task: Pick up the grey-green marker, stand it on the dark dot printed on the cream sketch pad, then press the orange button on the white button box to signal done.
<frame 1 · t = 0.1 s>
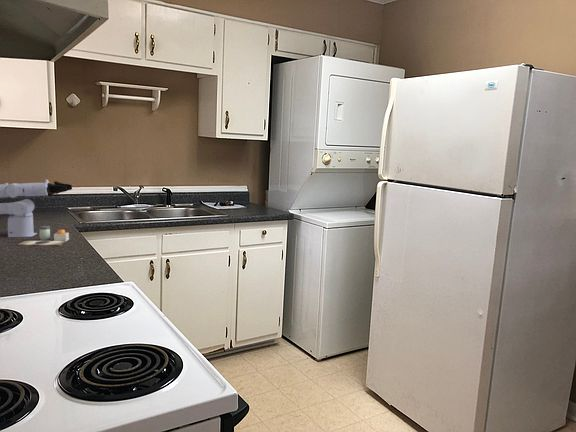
hand: (69, 187, 211), 21 cm above the countertop, fingers open, 7 cm apart
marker: (45, 240, 203), on the countertop
button box: (61, 240, 204), on the countertop
done button: (61, 233, 204), point 3 cm above the countertop, slide at 0.0 cm
sketch pad: (42, 243, 197), on the countertop
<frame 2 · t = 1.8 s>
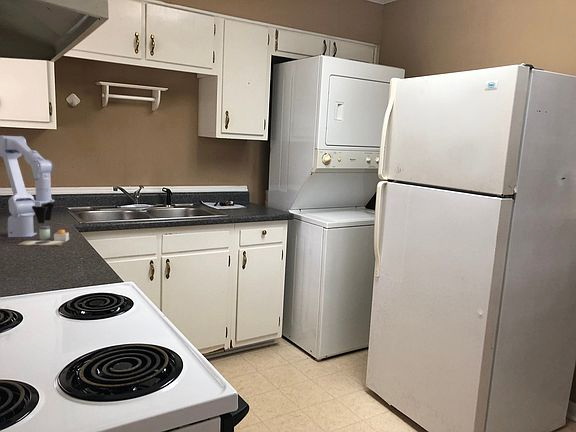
hand: (44, 221, 202), 8 cm above the countertop, fingers open, 7 cm apart
nothing on the countertop moved.
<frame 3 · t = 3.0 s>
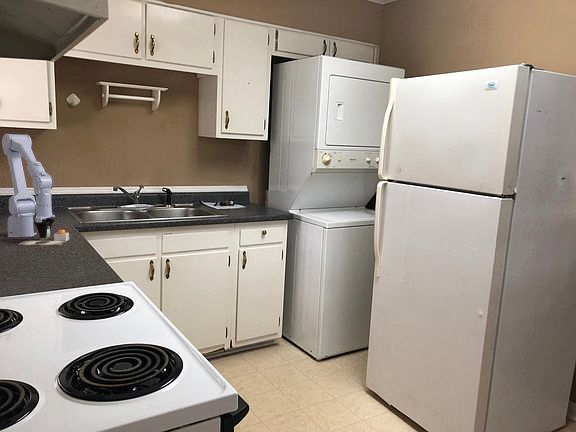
hand: (44, 236, 203), 2 cm above the countertop, fingers closed on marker, 4 cm apart
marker: (45, 240, 203), on the countertop, touching gripper
everything else where it was.
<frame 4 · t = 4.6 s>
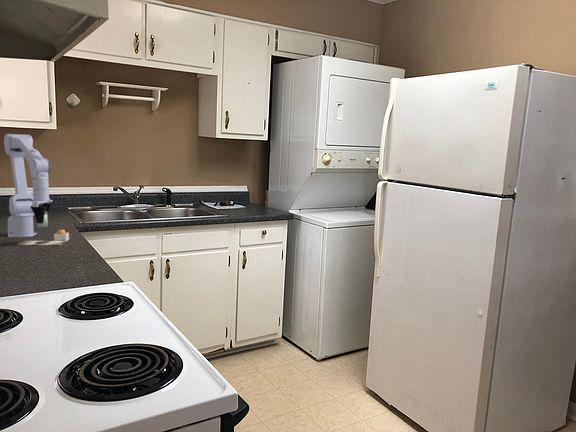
hand: (42, 222, 196), 9 cm above the countertop, fingers closed on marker, 4 cm apart
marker: (42, 226, 196), point 7 cm above the countertop, touching gripper
everything else where it was.
when the fingers open (3 cm above the countertop, at t = 6.1 s): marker drops 1 cm, resting on sketch pad.
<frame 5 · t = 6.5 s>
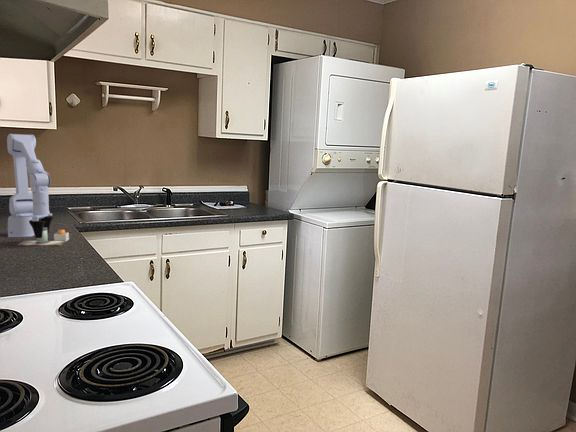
hand: (42, 236, 196), 3 cm above the countertop, fingers open, 7 cm apart
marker: (42, 242, 197), point 1 cm above the countertop, touching sketch pad
everything else where it was.
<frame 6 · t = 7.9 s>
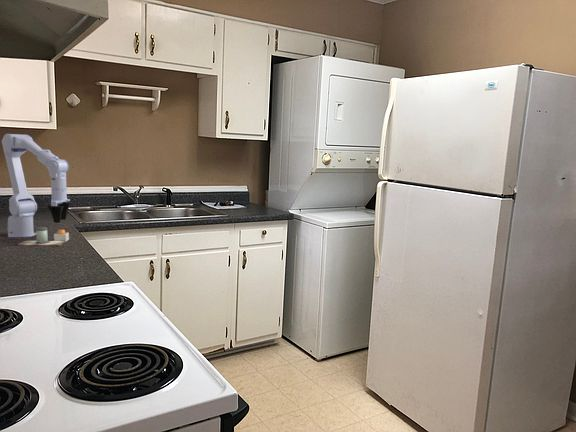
hand: (60, 221, 202), 8 cm above the countertop, fingers open, 7 cm apart
nothing on the countertop moved.
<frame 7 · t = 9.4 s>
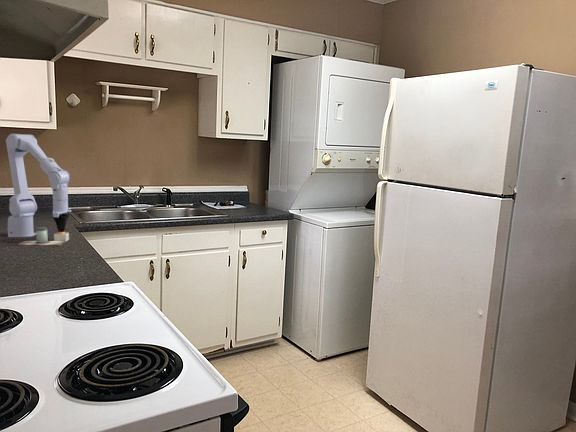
hand: (61, 231, 204), 4 cm above the countertop, fingers closed, pressing on done button
done button: (61, 235, 204), point 2 cm above the countertop, slide at 0.7 cm, touching gripper
everything else where it was.
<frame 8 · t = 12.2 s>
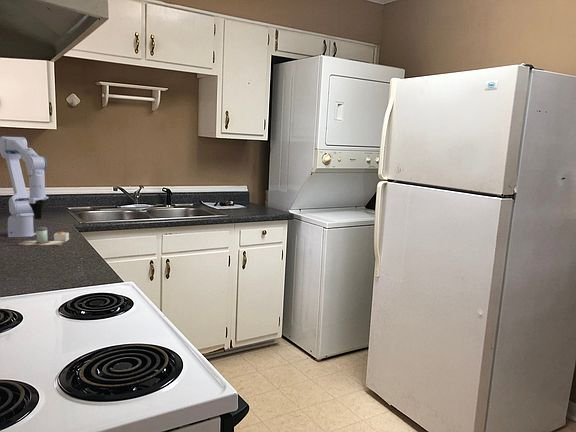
hand: (38, 218, 200), 9 cm above the countertop, fingers closed
done button: (61, 235, 204), point 2 cm above the countertop, slide at 1.0 cm
everything else where it was.
at the end: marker 0.0 cm off-centre on the sketch pad, point 0.6 cm above the sketch pad's base; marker tilted 1°; done button slide at 1.0 cm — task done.
